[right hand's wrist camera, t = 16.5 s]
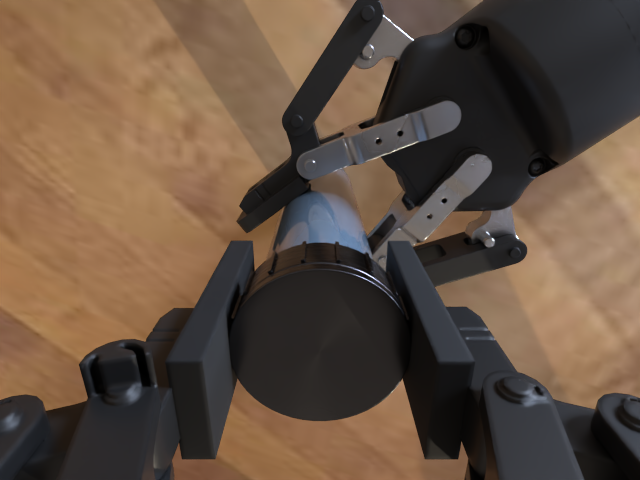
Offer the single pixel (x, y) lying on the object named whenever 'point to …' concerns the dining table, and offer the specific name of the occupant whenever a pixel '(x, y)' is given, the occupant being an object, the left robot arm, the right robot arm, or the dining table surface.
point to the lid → (320, 333)
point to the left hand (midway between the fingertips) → (276, 257)
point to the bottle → (322, 216)
